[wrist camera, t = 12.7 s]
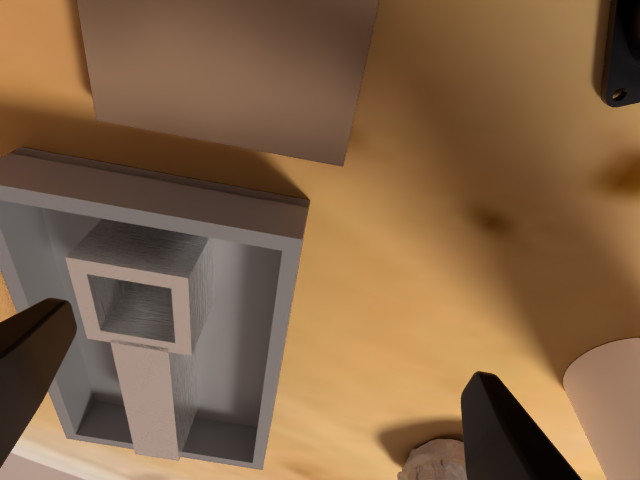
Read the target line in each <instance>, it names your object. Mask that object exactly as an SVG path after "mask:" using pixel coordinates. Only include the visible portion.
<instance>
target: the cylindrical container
mask: <svg viewBox="0 0 640 480" xmlns="http://www.w3.org/2000/svg"><path fill="white" fill-rule="evenodd" d="M563 386H564V389H565V392H566V394H567V396H568V398H569V400H570V402H571V404H572V406H573V409H574V411H575V413H576V415H577V417H578V419H579V421H580V423H581V425H582V428H583V430H584V432H585V434H586V436H587V438H588V440H589V442H590V444H591V447H592V449H593V451H594V453H595V455H596V457H597V459H598V461H599V463H600V466H601V468H602V470H603V472H604V474H605V476H606V478H607V480H640V338H630V339H622V340H618V341H614V342H610V343H607V344H604V345H601V346H598V347H596V348H594V349H592V350H590V351H588V352H586V353H584V354H583V355H582V356H580V357H579V358H577V359H576V360H575V361H574V362H573V363H572V364H571V365H570V366H569V368H568V369H567V370H566V372H565V375H564V377H563Z"/></svg>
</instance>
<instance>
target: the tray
mask: <svg viewBox="0 0 640 480" xmlns="http://www.w3.org/2000/svg"><path fill="white" fill-rule="evenodd" d="M309 204H310V200H307V199H301V198H296V197H290V196H285V195H280V194H274V193H269V192H263V191H258V190H252V189H247V188H242V187H236V186H231V185H225V184H220V183H214V182H209V181H203V180H198V179H193V178H187V177H182V176H176V175H171V174H165V173H160V172H154V171H149V170H144V169H138V168H133V167H127V166H122V165H116V164H111V163H106V162H100V161H95V160H89V159H84V158H78V157H73V156H67V155H62V154H57V153H51V152H46V151H40V150H35V149H29V148H24V147H20V148H18V149H16V150H14V151H13V152H11V153H9V154H7V155H6V156H4V157H2V158H0V270H1V272H2V275H3V277H4V280H5V282H6V285H7V288H8V290H9V293H10V295H11V298H12V300H13V303H14V305H15V308H16V310H17V313H19V312H21V311H23V310H25V309H27V308H29V307H31V306H33V305H34V304H36V303H38V302H40V301H42V300H44V299H47V298H57V299H63V300H67V301H69V302H70V303H71V306H72V309H73V313H74V317H75V320H76V324H77V332H76V335H75V338H74V340H73V342H72V344H71V346H70V348H69V350H68V352H67V354H66V356H65V358H64V360H63V362H62V364H61V366H60V368H59V370H58V372H57V374H56V376H55V378H54V380H53V382H52V384H51V386H50V388H49V390H48V392H49V395H50V397H51V400H52V402H53V405H54V407H55V410H56V412H57V415H58V417H59V420H60V423H61V425H62V428H63V430H64V433H65V435H66V438H67V439H73V440H79V441H85V442H92V443H98V444H104V445H110V446H117V447H123V448H129V449H134V446H133V442H132V437H131V433H130V428H129V424H128V419H127V415H126V410H125V406H124V401H123V397H122V392H121V388H120V383H119V379H118V374H117V370H116V365H115V361H114V356H113V351H112V347H111V342H105V341H99V340H93V339H87V336H86V333H85V329H84V325H83V321H82V318H81V314H80V310H79V307H78V303H77V299H76V296H75V292H74V288H73V285H72V281H71V277H70V274H69V270H68V266H67V262H66V259H65V257H66V256H67V255H68V254H69V253H70V252H71V251H72V250H73V249H74V247H75V246H76V245H77V244H78V243H79V242H80V241H81V240H82V239H83V238H84V237H85V236H86V235H87V234H88V233H89V232H90V231H91V230H92V229H93V228H94V227H95V226H96V225H97V224H98V223H99V222H100V221H101V220H102V219H108V220H113V221H119V222H124V223H130V224H136V225H141V226H147V227H152V228H158V229H164V230H169V231H175V232H180V233H186V234H191V235H197V236H203V237H208V238H214V303H213V306H212V308H211V310H210V313H209V315H208V318H207V320H206V322H205V325H204V327H203V330H202V332H201V334H200V337H199V339H198V342H197V344H196V368H197V398H198V408H197V411H196V414H195V417H194V420H193V423H192V425H191V428H190V431H189V434H188V437H187V440H186V442H185V445H184V448H183V451H182V454H181V457H185V458H191V459H197V460H204V461H210V462H216V463H222V464H228V465H235V466H241V467H247V468H253V469H259V470H263V465H264V459H265V454H266V449H267V443H268V438H269V432H270V427H271V421H272V416H273V410H274V404H275V399H276V393H277V387H278V381H279V376H280V370H281V364H282V358H283V353H284V347H285V341H286V336H287V330H288V324H289V318H290V313H291V307H292V301H293V295H294V290H295V284H296V278H297V273H298V267H299V261H300V255H301V250H302V244H303V238H304V232H305V227H306V221H307V215H308V209H309Z"/></svg>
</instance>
